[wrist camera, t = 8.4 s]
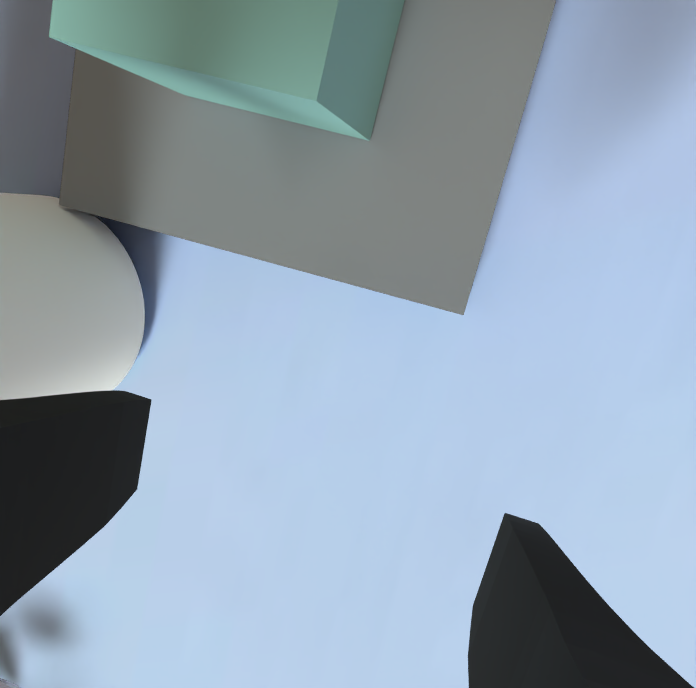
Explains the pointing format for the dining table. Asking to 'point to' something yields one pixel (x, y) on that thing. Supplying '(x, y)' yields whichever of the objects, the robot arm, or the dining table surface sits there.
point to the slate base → (325, 158)
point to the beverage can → (64, 301)
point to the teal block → (248, 52)
